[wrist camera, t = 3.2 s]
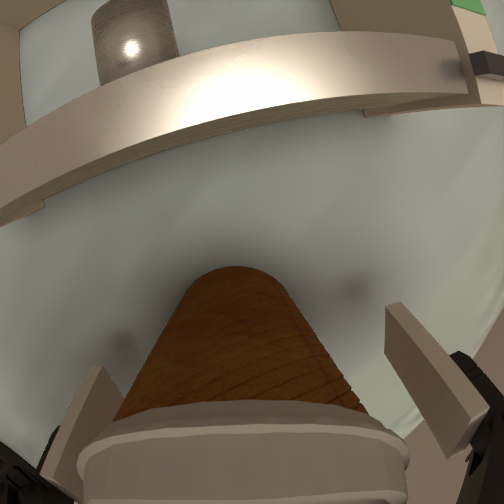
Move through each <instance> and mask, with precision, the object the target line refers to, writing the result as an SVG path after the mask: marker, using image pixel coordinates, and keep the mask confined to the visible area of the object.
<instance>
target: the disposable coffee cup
mask: <svg viewBox="0 0 504 504" xmlns="http://www.w3.org/2000/svg"><path fill="white" fill-rule="evenodd" d="M343 377H344V375H343V374H342V373H341V372H340V371H339V369H338V368H337V366H336V364H335V363H334V361H333V360H332V358H331V357H330V355H329V353H328V352H327V351H326V350H325V349H324V346H323V345H322V344H321V342H320V341H319V340H318V338H317V335H316V334H315V333H314V332H313V329H312V328H311V327H310V326H309V325H308V323H307V321H306V320H305V319H304V317H303V315H302V314H301V313H300V311H299V309H298V308H297V307H296V305H295V304H294V302H293V301H292V299H291V298H290V296H289V294H288V293H287V291H286V290H285V288H284V287H283V286H282V285H281V284H280V283H279V282H278V281H277V280H276V279H274V278H273V277H271V276H269V275H267V274H266V273H264V272H262V271H259V270H256V269H253V268H247V267H226V268H221V269H217V270H214V271H212V272H210V273H208V274H205V275H203V276H202V277H200V278H199V279H197V280H196V281H195V282H194V283H193V284H192V285H191V286H190V288H189V289H188V290H187V291H186V293H185V295H184V297H183V298H182V300H181V302H180V304H179V305H178V307H177V308H176V310H175V312H174V313H173V315H172V317H171V319H170V320H169V322H168V324H167V325H166V327H165V328H164V330H163V332H162V334H161V336H160V337H159V339H158V341H157V343H156V344H155V346H154V348H153V350H152V351H151V353H150V355H149V356H148V358H147V359H146V361H145V363H144V365H143V367H142V368H141V370H140V372H139V374H138V376H137V377H136V379H135V381H134V383H133V385H132V387H131V388H130V390H129V392H128V394H127V396H126V398H125V399H124V401H123V403H122V404H121V406H120V408H119V410H118V412H117V414H116V416H115V417H114V419H113V421H112V423H111V424H110V425H109V426H107V427H106V428H105V429H104V430H103V431H102V432H101V433H100V434H99V435H98V436H97V437H96V438H94V439H93V440H91V441H90V442H88V443H87V444H85V445H84V447H83V448H82V450H81V452H80V454H79V456H78V460H77V464H76V466H77V470H78V474H79V476H80V478H81V479H82V481H83V482H84V484H83V504H406V503H407V500H408V491H407V484H406V477H405V471H406V469H407V466H408V464H409V461H410V454H409V453H410V452H409V448H408V447H407V445H406V443H405V441H404V440H403V439H402V438H400V437H399V436H398V435H397V434H395V433H394V432H393V431H392V430H390V429H387V428H385V427H384V426H383V425H382V423H381V422H380V421H378V420H376V419H375V418H373V417H371V416H369V414H368V412H367V411H366V409H365V407H364V406H363V404H361V403H359V402H360V399H359V398H358V397H357V396H356V394H355V393H354V392H353V391H351V386H350V385H349V384H348V382H347V381H346V380H345V379H343Z"/></svg>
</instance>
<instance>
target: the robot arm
mask: <svg viewBox="0 0 504 504" xmlns="http://www.w3.org/2000/svg"><path fill="white" fill-rule="evenodd" d="M384 354H385V355H386V357H387V358H388V360H389V362H390V363H391V365H392V366H393V368H394V370H395V371H396V373H397V374H398V376H399V378H400V379H401V381H402V382H403V384H404V386H405V387H406V389H407V391H408V392H409V394H410V396H411V397H412V399H413V401H414V402H415V404H416V406H417V407H418V409H419V411H420V412H421V414H422V416H423V418H424V419H425V421H426V423H427V424H428V426H429V428H430V430H431V431H432V433H433V435H434V437H435V438H436V440H437V442H438V444H439V446H440V447H441V449H442V451H443V453H444V455H445V457H446V459H447V460H449V459H451V458H453V457H454V456H456V455H458V454H460V453H461V452H463V451H465V449H466V447H467V446H468V444H469V443H470V444H471V446H472V447H473V449H472V450H471V452H470V454H469V455H468V456H467V458H466V460H465V462H468V460H469V459H470V460H469V464H468V468H467V471H466V475H465V479H464V482H463V485H462V488H461V491H460V494H459V497H458V500H457V503H456V504H504V396H503V395H502V394H501V392H500V391H499V390H498V389H497V387H496V386H495V385H494V384H493V383H492V382H491V380H490V379H489V378H488V377H487V376H486V374H484V373H483V371H482V370H481V369H480V368H479V367H477V364H476V363H475V362H474V361H473V360H472V359H471V357H470V356H468V355H466V354H464V353H462V352H460V351H457V352H455V353H453V354H451V355H448V354H447V353H446V352H445V350H444V349H443V348H442V347H441V346H440V345H439V343H438V342H437V341H436V340H435V339H434V338H433V337H432V335H431V334H430V333H429V332H428V331H427V330H426V329H425V328H424V327H423V325H422V324H421V323H420V322H419V321H418V320H417V319H416V318H415V317H414V316H413V314H412V313H411V312H410V311H409V310H408V309H407V308H406V307H405V306H404V305H403V304H402V303H401V302H398V303H395V304H392V305H389V306H386V307H385V348H384ZM123 401H124V397H123V396H122V394H121V393H120V391H119V390H118V389H117V387H116V386H115V384H114V383H113V381H112V380H111V378H110V377H109V375H108V373H107V372H106V370H105V369H104V367H103V366H91V367H90V369H89V370H88V372H87V374H86V376H85V378H84V380H83V382H82V384H81V386H80V387H79V389H78V391H77V393H76V395H75V397H74V399H73V401H72V403H71V405H70V407H69V409H68V411H67V413H66V415H65V417H64V420H63V422H62V424H61V426H58V427H57V428H56V429H55V430H54V432H53V433H52V435H51V437H50V439H49V441H48V442H49V443H47V446H46V448H45V449H46V450H44V452H43V454H42V457H41V459H40V461H39V464H38V466H37V469H36V470H34V469H33V468H32V467H31V466H30V465H29V464H28V463H26V462H25V461H24V460H23V459H21V458H20V457H19V456H18V455H16V454H15V453H14V452H12V451H11V450H10V449H8V448H7V447H6V446H4V445H3V444H2V443H0V504H74V501H75V502H77V503H78V504H83V484H84V482H83V481H82V479H81V478H80V476H79V474H78V470H77V466H76V464H77V460H78V456H79V454H80V452H81V450H82V448H83V447H84V445H85V444H87V443H88V442H90V441H91V440H93V439H94V438H96V437H97V436H98V435H99V434H100V433H101V432H102V431H103V430H104V429H105V428H106V427H107V426H109V425H110V424H111V423H112V421H113V419H114V417H115V416H116V414H117V412H118V410H119V408H120V406H121V404H122V403H123Z"/></svg>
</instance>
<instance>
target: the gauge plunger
mask: <svg viewBox="0 0 504 504" xmlns="http://www.w3.org/2000/svg"><path fill="white" fill-rule="evenodd" d="M91 25H92V34H93V42H94V50H95V57H96V63H97V69H98V75H99V81H100V87H99V88H96V89H94V90H92V91H90V92H88V93H86V94H84V95H82V96H80V97H78V98H76V99H74V100H72V101H70V102H68V103H67V104H65V105H63V106H61V107H59V108H58V109H56V110H54V111H52V112H51V113H49V114H47V115H45V116H44V117H42V118H40V119H39V120H37V121H36V122H34V123H32V124H31V125H29V126H28V127H26V128H25V129H23V130H22V131H20V132H19V133H17V134H16V135H14V136H13V137H11V138H10V139H9V140H7V141H6V142H4V143H3V144H2V145H0V219H2V218H5V217H7V216H9V215H12V214H14V213H17V212H19V211H20V210H22V209H24V208H26V207H28V206H30V205H32V204H34V203H36V202H38V201H40V200H42V199H44V198H46V197H48V196H50V195H52V194H54V193H57V192H59V191H61V190H63V189H65V188H67V187H70V186H72V185H74V184H77V183H79V182H81V181H84V180H86V179H88V178H91V177H93V176H96V175H98V174H100V173H103V172H106V171H108V170H111V169H113V168H116V167H118V166H121V165H124V164H127V163H129V162H132V161H135V160H138V159H141V158H143V157H146V156H149V155H152V154H155V153H158V152H161V151H165V150H168V149H171V148H174V147H177V146H181V145H184V144H187V143H191V142H194V141H198V140H201V139H205V138H209V137H213V136H216V135H220V134H224V133H228V132H232V131H236V130H241V129H245V128H250V127H254V126H259V125H263V124H268V123H273V122H278V121H284V120H289V119H295V118H301V117H307V116H313V115H320V114H327V113H334V112H342V111H350V110H360V109H370V108H382V107H388V106H393V105H398V104H403V103H409V102H415V101H420V100H427V99H433V98H440V97H447V96H455V95H463V94H468V89H467V85H466V81H465V77H464V73H463V69H462V65H461V62H460V58H459V55H458V52H457V49H456V46H455V42H454V41H451V40H445V39H440V38H433V37H427V36H419V35H411V34H400V33H388V32H365V31H338V32H315V33H302V34H291V35H282V36H274V37H267V38H261V39H254V40H249V41H243V42H238V43H233V44H228V45H223V46H219V47H215V48H210V49H206V50H202V51H199V52H195V53H191V54H188V55H184V56H181V57H180V56H179V51H178V47H177V43H176V39H175V34H174V30H173V25H172V21H171V17H170V12H169V8H168V3H167V0H110V1H108V2H107V3H105V4H104V5H102V6H101V7H100V8H99V9H98V10H97V11H96V12H95V13H94V15H93V17H92V19H91ZM469 58H470V61H471V65H472V68H473V72H474V76H478V77H484V78H490V79H496V80H501V81H504V56H502V55H499V54H495V53H492V52H488V51H484V50H483V51H479V52H474V53H470V54H469Z"/></svg>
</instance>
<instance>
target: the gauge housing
mask: <svg viewBox="0 0 504 504" xmlns="http://www.w3.org/2000/svg"><path fill="white" fill-rule="evenodd" d="M63 1H65V0H0V145H2V144H3V143H4V142H6V141H7V140H9V139H10V138H11V137H13V136H14V135H16V134H17V133H19V132H20V131H22V130H23V129H25V128H26V124H25V117H24V110H23V102H22V93H21V82H20V66H19V30H20V29H22V28H23V27H25V26H26V25H27V24H29V23H30V22H32V21H33V20H35V19H36V18H38V17H39V16H41V15H42V14H44V13H45V12H47V11H48V10H50V9H52V8H53V7H55V6H56V5H58V4H60V3H61V2H63ZM330 2H331V4H332V7H333V10H334V12H335V15H336V18H337V21H338V23H339V26H340V29H341V31H365V32H388V33H400V34H411V35H419V36H427V37H433V38H440V39H445V40H451V41H454V42H455V46H456V49H457V52H458V55H459V58H460V62H461V65H462V69H463V73H464V77H465V81H466V85H467V89H468V94H463V95H455V96H447V97H440V98H433V99H427V100H420V101H415V102H409V103H403V104H398V105H393V106H388V107H382V108H370V109H363V111H364V115H365V118H366V117H375V116H386V115H395V114H403V113H411V112H419V111H428V110H439V109H451V108H466V107H490V106H504V81H501V80H496V79H490V78H484V77H478V76H474V72H473V68H472V65H471V61H470V58H469V54H470V53H474V52H479V51H483V50H484V51H488V52H492V53H495V54H498V53H497V50H496V47H495V44H494V41H493V38H492V35H491V32H490V29H489V27H488V24H487V21H486V19H485V16H486V13H485V11H484V9H483V6H482V4H481V2H480V0H330ZM43 207H45V206H44V203H43V199H42V200H40V201H38V202H36V203H34V204H32V205H30V206H28V207H26V208H24V209H22V210H20V211H19V212H17V213H14V214H12V215H9V216H7V217H5V218H2V219H0V227H2V226H5V225H7V224H9V223H11V222H13V221H15V220H17V219H20V218H22V217H24V216H26V215H29V214H31V213H33V212H35V211H37V210H39V209H41V208H43Z"/></svg>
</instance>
